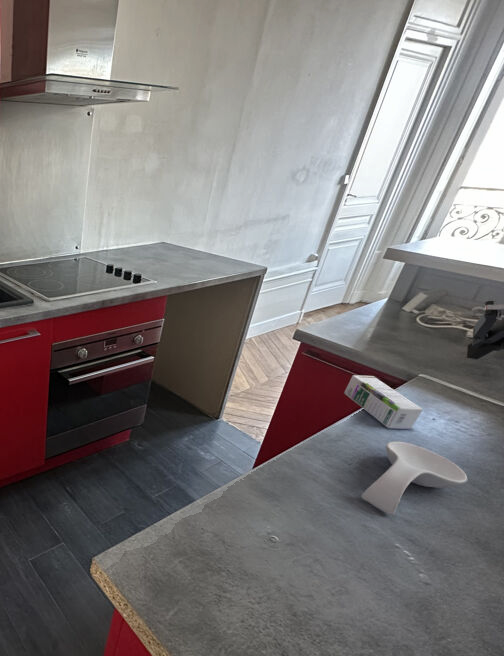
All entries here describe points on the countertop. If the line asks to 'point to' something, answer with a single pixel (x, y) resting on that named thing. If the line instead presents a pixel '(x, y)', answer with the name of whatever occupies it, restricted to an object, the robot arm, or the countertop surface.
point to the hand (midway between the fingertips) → (472, 352)
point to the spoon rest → (411, 474)
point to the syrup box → (382, 402)
